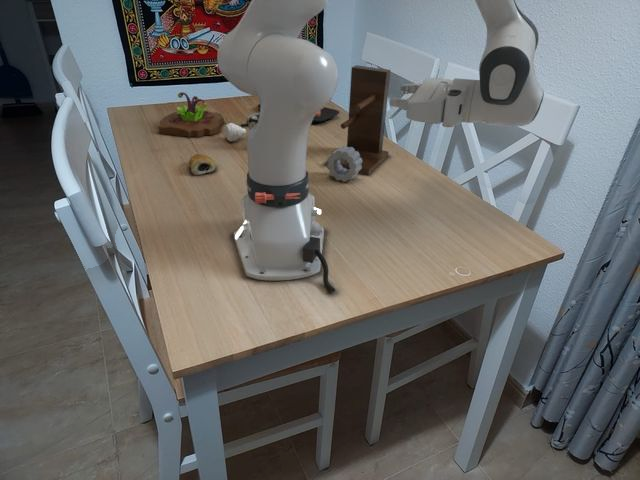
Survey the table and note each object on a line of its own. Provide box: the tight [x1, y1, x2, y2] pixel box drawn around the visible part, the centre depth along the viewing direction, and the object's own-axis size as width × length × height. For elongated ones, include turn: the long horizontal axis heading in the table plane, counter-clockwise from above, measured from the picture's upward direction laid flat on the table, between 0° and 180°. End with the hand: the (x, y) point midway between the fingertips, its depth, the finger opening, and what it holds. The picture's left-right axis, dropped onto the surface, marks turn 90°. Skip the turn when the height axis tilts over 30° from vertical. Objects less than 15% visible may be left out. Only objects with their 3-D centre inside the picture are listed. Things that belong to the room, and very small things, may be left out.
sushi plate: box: [240, 103, 340, 127], centre depth 156 cm, size 29×30×4 cm
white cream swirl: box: [224, 122, 247, 143], centre depth 138 cm, size 6×6×5 cm
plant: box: [158, 91, 225, 138], centre depth 145 cm, size 20×20×11 cm
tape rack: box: [326, 64, 391, 176], centre depth 121 cm, size 15×12×24 cm
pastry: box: [188, 153, 217, 176], centre depth 120 cm, size 9×7×4 cm
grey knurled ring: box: [326, 145, 362, 183], centre depth 116 cm, size 4×8×8 cm, turn 62°
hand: (396, 94), depth 102 cm, fingers open, 8 cm apart
